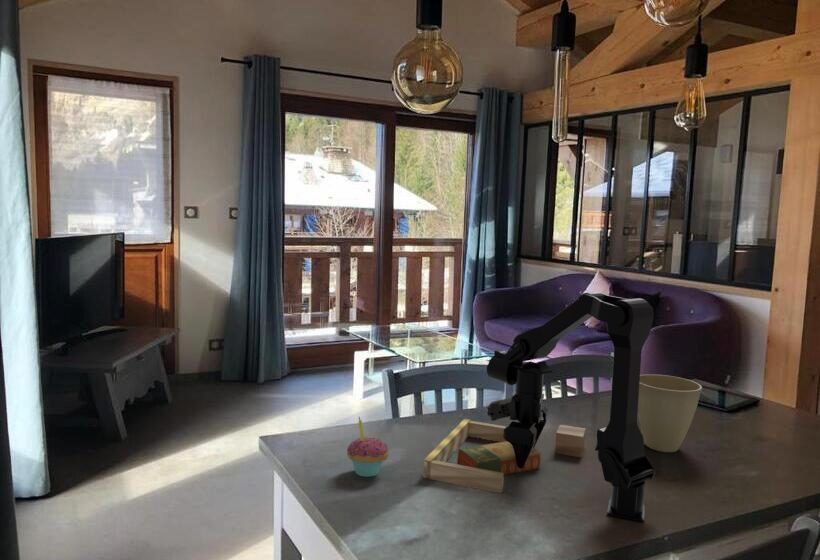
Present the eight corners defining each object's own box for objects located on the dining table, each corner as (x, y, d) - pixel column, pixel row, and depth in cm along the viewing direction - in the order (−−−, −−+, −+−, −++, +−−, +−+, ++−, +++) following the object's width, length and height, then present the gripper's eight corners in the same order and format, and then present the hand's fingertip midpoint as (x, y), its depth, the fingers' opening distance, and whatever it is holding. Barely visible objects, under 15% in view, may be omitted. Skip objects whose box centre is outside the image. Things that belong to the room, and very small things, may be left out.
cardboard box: (581, 458, 149) (583, 436, 149) (554, 453, 151) (556, 432, 151) (584, 449, 155) (585, 428, 154) (558, 444, 157) (559, 424, 156)
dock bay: (500, 493, 129) (502, 474, 128) (423, 477, 135) (423, 459, 134) (529, 444, 156) (530, 429, 155) (463, 433, 162) (464, 418, 161)
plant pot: (698, 462, 148) (704, 394, 147) (629, 452, 153) (634, 385, 151) (693, 441, 162) (698, 378, 161) (629, 432, 167) (634, 371, 165)
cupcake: (350, 482, 131) (352, 424, 130) (343, 465, 139) (344, 410, 138) (392, 478, 134) (394, 421, 132) (382, 462, 142) (384, 408, 140)
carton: (540, 470, 142) (541, 451, 141) (476, 481, 135) (477, 461, 134) (518, 455, 149) (519, 437, 149) (456, 465, 142) (457, 446, 142)
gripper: (502, 375, 152) (498, 440, 154) (480, 396, 135) (477, 469, 137) (550, 381, 148) (546, 448, 150) (535, 404, 131) (530, 479, 133)
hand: (524, 460), depth 143 cm, fingers open, 9 cm apart
